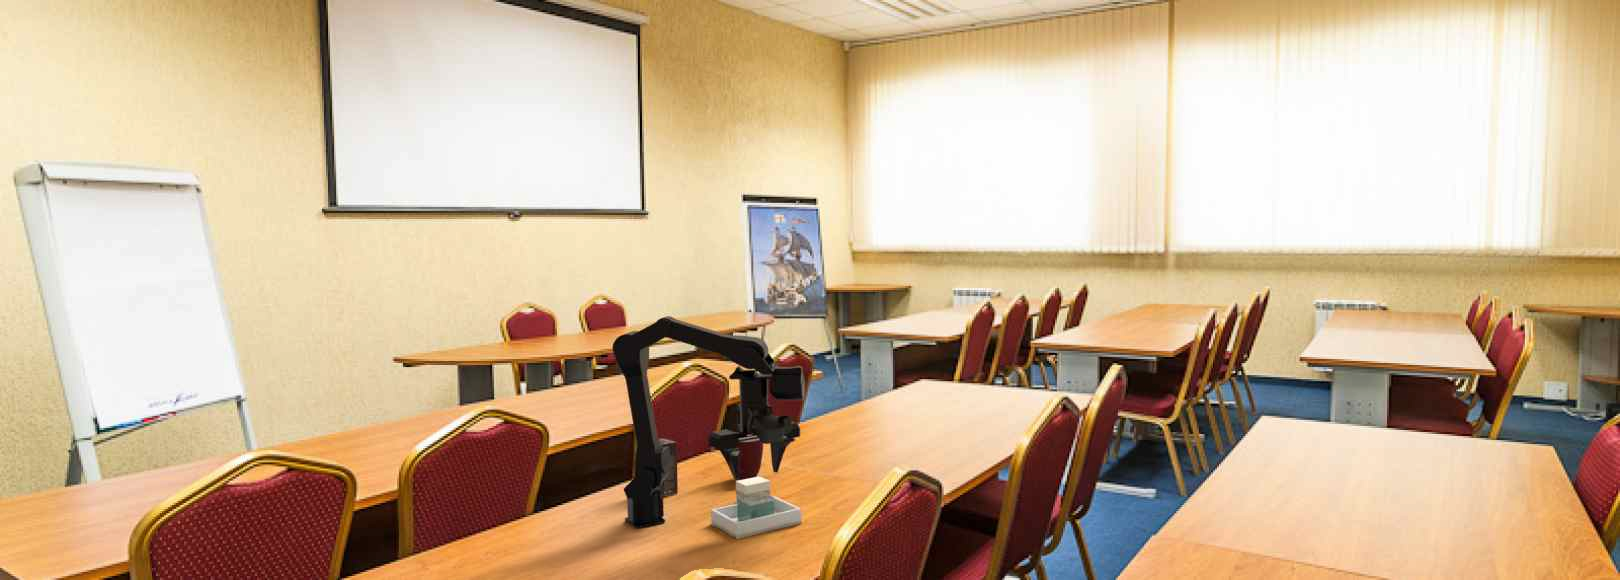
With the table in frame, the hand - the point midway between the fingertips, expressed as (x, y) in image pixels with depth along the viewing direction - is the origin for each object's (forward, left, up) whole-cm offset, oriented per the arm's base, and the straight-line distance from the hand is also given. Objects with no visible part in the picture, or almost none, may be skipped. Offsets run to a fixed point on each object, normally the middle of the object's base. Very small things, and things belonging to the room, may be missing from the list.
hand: (756, 476), depth 180 cm
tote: (0, 0, -10) cm, 10 cm away
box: (-6, +32, -10) cm, 34 cm away
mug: (+14, +29, -10) cm, 34 cm away
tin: (0, 0, -9) cm, 9 cm away
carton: (+6, +13, -10) cm, 17 cm away
